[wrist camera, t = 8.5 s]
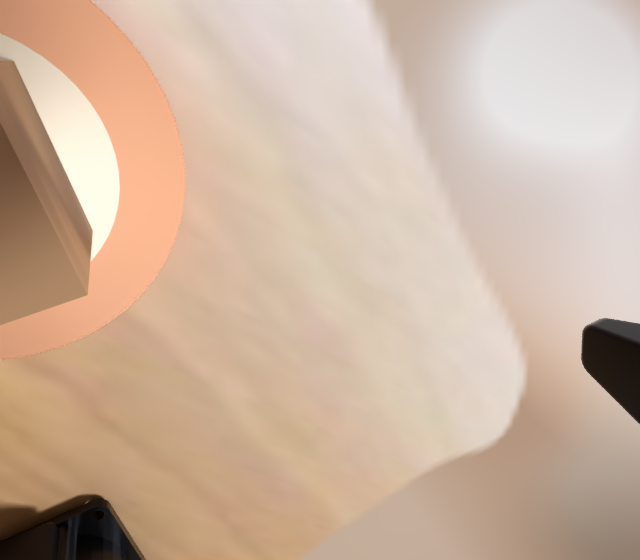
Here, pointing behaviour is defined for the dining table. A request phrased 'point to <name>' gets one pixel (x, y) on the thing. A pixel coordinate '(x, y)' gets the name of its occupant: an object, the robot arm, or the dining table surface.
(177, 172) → the terracotta dish
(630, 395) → the robot arm
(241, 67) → the dining table surface
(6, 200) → the walnut block
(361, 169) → the dining table surface
